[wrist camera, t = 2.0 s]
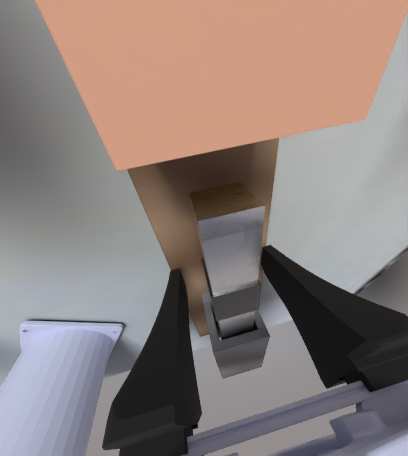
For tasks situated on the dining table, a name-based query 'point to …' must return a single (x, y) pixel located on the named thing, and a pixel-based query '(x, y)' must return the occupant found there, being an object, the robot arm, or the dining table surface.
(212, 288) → the grey banded bar
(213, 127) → the peach-orange block
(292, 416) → the robot arm
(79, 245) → the dining table surface
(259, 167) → the brown wooden bar
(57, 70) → the dining table surface
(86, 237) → the dining table surface
